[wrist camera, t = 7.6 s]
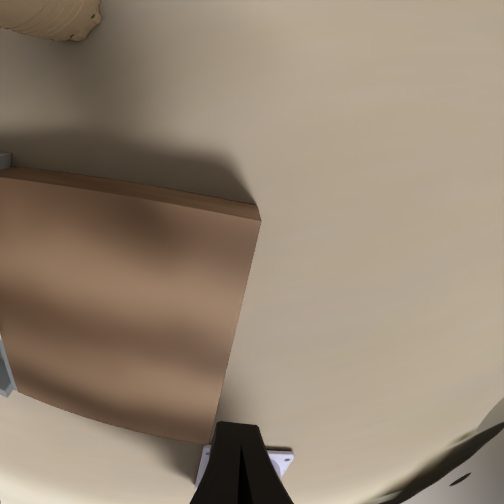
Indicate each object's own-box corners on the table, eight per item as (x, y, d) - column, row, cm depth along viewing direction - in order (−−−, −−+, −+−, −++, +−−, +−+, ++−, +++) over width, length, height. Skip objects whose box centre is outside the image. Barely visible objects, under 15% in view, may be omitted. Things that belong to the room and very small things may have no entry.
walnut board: (210, 414, 22) (208, 444, 19) (33, 368, 20) (18, 391, 17) (257, 205, 16) (261, 221, 14) (14, 166, 15) (-17, 174, 12)
